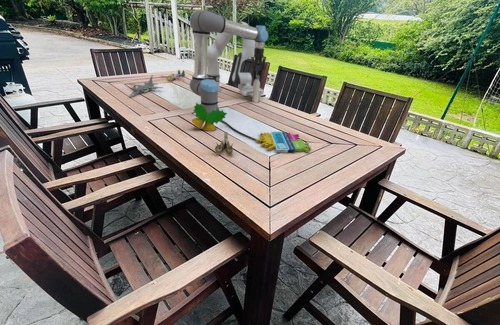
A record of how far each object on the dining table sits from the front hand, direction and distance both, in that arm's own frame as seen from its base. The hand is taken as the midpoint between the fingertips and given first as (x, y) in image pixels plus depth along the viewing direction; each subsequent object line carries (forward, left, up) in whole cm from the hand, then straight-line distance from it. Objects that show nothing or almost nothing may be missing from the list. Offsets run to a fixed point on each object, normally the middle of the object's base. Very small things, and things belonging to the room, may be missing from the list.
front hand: (257, 78), depth 214 cm
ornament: (-56, +47, -19) cm, 76 cm away
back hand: (-1, 0, -13) cm, 13 cm away
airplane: (+35, +91, -19) cm, 100 cm away
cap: (0, 0, +2) cm, 2 cm away
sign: (-83, +8, -19) cm, 85 cm away
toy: (+88, +63, -19) cm, 110 cm away
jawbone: (-89, +43, -19) cm, 100 cm away
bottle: (0, 0, -19) cm, 19 cm away
